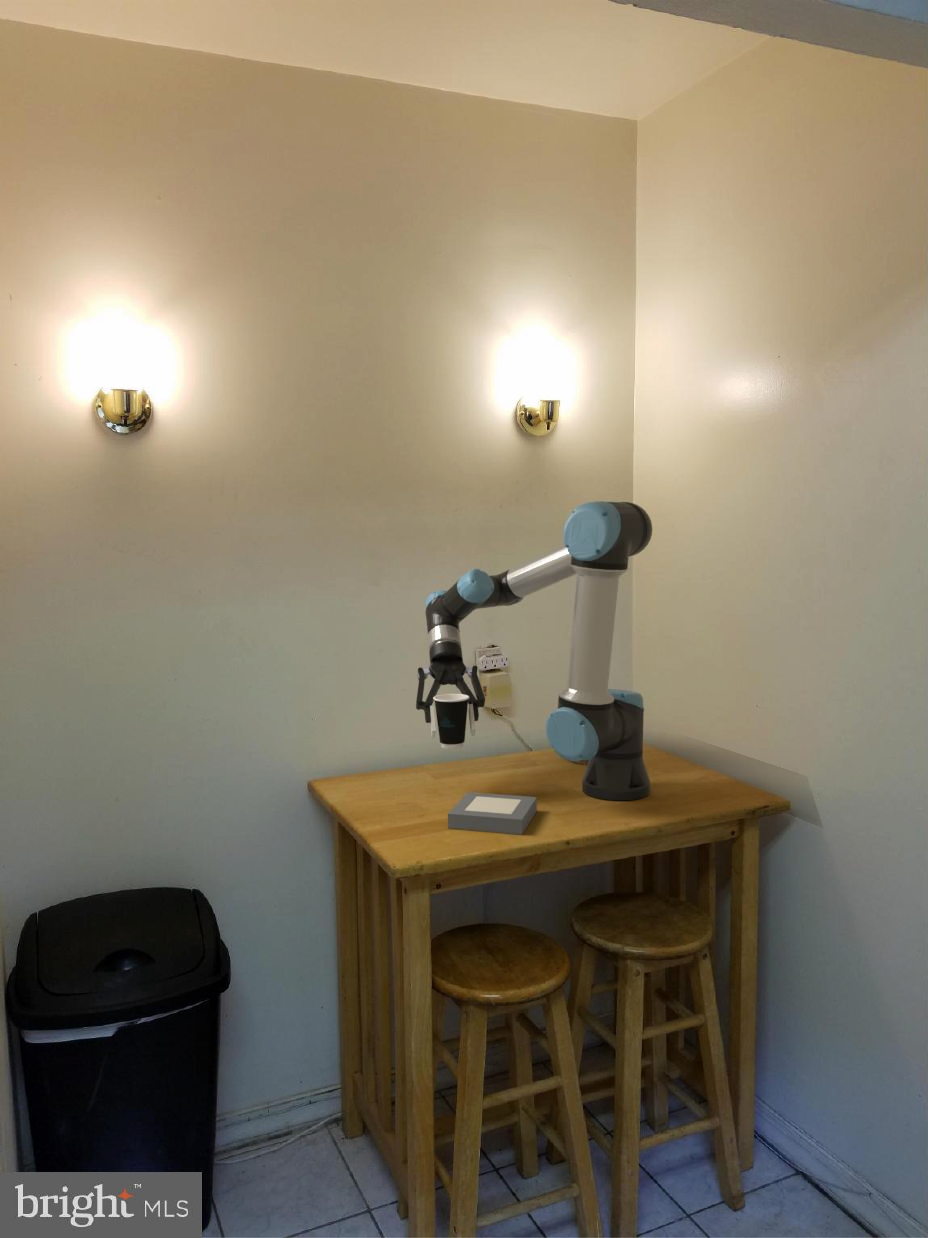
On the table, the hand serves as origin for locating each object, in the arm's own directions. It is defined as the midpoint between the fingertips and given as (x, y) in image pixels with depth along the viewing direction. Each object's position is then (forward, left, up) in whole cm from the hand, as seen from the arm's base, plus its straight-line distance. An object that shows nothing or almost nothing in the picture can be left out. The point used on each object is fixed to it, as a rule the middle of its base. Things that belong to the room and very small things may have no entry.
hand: (453, 733), depth 199 cm
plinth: (-11, +9, -15) cm, 21 cm away
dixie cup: (+1, -3, -4) cm, 5 cm away
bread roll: (-23, -42, -16) cm, 50 cm away
